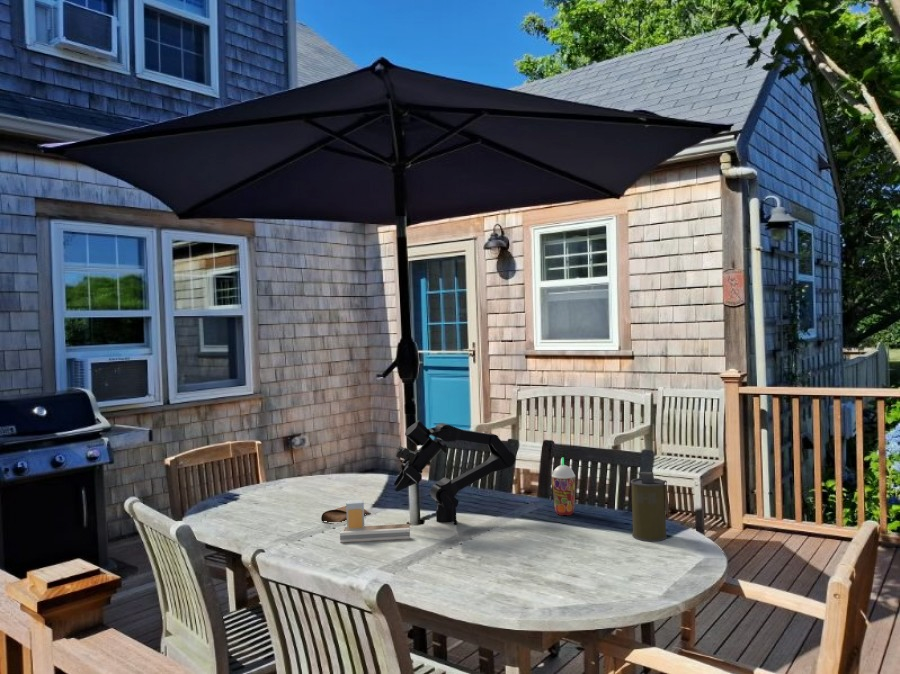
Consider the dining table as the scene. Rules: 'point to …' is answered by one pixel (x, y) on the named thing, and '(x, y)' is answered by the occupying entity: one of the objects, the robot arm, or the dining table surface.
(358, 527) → the carton
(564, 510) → the smoothie
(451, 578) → the dining table surface
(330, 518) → the sunglasses case
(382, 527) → the shelf board
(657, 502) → the canister
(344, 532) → the rail
